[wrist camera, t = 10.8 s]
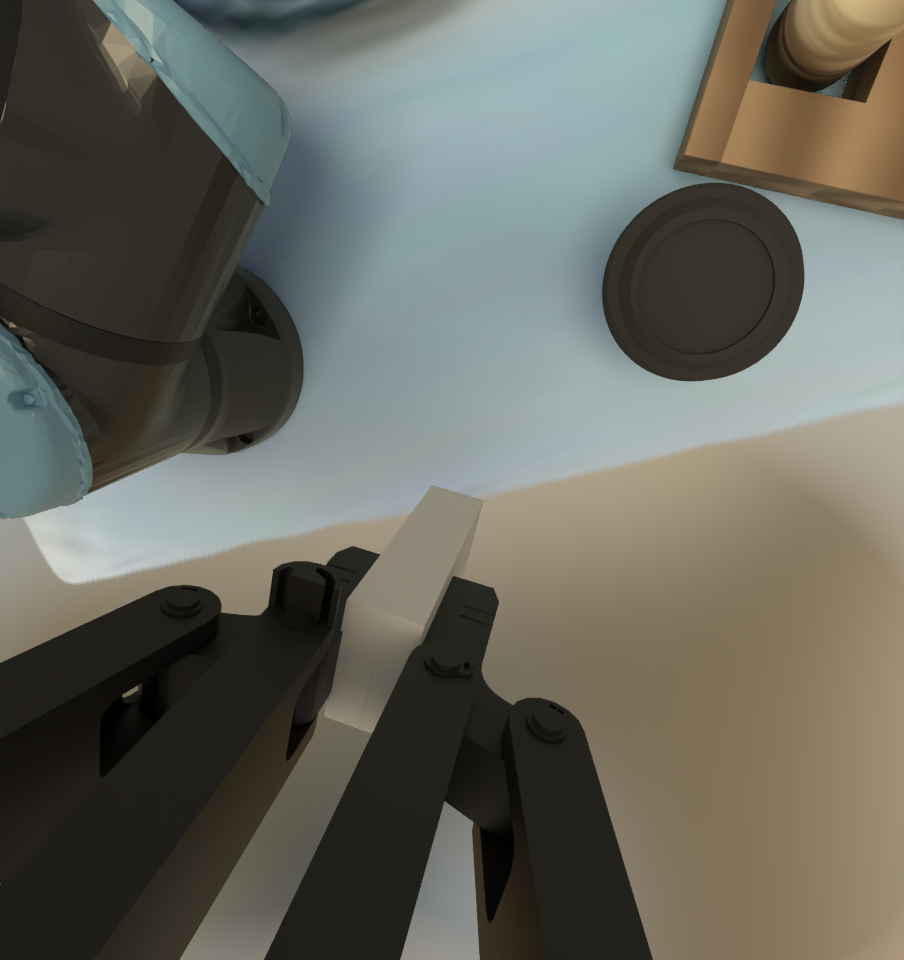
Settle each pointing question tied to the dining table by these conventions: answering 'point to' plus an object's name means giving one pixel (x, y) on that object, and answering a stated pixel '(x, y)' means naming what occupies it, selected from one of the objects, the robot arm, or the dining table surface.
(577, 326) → the dining table surface
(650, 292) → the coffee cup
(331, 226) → the dining table surface
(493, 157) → the dining table surface
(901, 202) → the board
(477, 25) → the dining table surface
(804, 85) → the peg
